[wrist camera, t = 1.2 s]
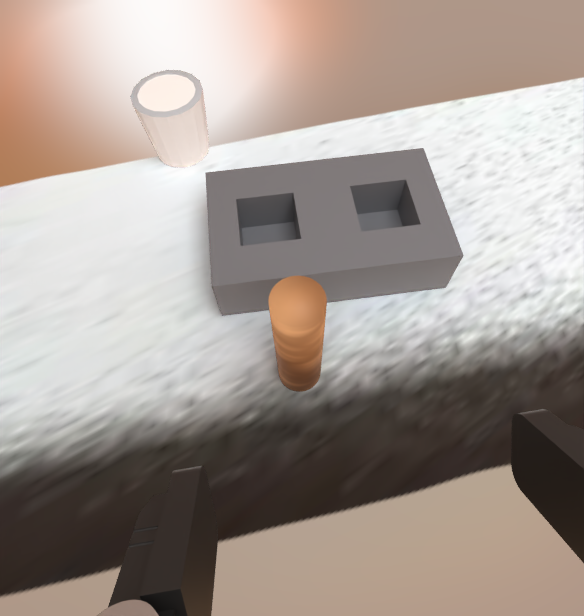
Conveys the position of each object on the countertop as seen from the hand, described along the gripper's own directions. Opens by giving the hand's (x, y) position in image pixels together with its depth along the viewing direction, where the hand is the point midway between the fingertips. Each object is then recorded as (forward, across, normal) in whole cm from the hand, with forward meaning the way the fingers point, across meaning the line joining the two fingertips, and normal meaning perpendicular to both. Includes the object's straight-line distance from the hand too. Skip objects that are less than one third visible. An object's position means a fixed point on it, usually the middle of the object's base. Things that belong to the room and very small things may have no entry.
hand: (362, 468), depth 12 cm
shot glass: (+43, +8, -11) cm, 46 cm away
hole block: (+32, -4, 0) cm, 33 cm away
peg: (+24, 0, +8) cm, 25 cm away
